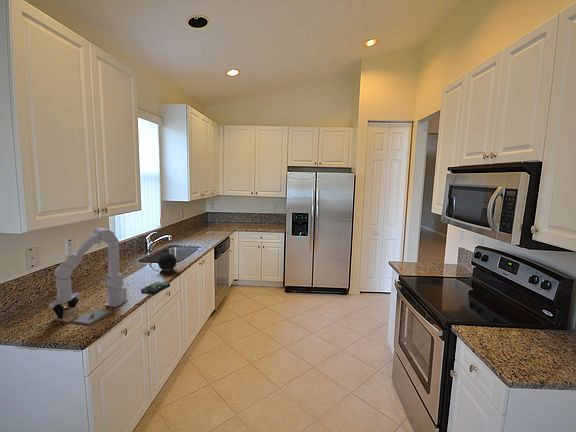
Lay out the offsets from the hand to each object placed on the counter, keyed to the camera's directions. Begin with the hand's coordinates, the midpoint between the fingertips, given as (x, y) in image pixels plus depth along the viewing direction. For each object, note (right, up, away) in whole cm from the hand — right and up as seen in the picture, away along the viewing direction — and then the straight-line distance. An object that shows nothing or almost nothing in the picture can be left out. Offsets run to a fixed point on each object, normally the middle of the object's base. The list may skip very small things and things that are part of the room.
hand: (66, 315), depth 148 cm
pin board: (+13, -1, +2) cm, 13 cm away
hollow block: (0, -1, 0) cm, 1 cm away
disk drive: (+27, +2, +41) cm, 49 cm away
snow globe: (+21, +7, +75) cm, 78 cm away
